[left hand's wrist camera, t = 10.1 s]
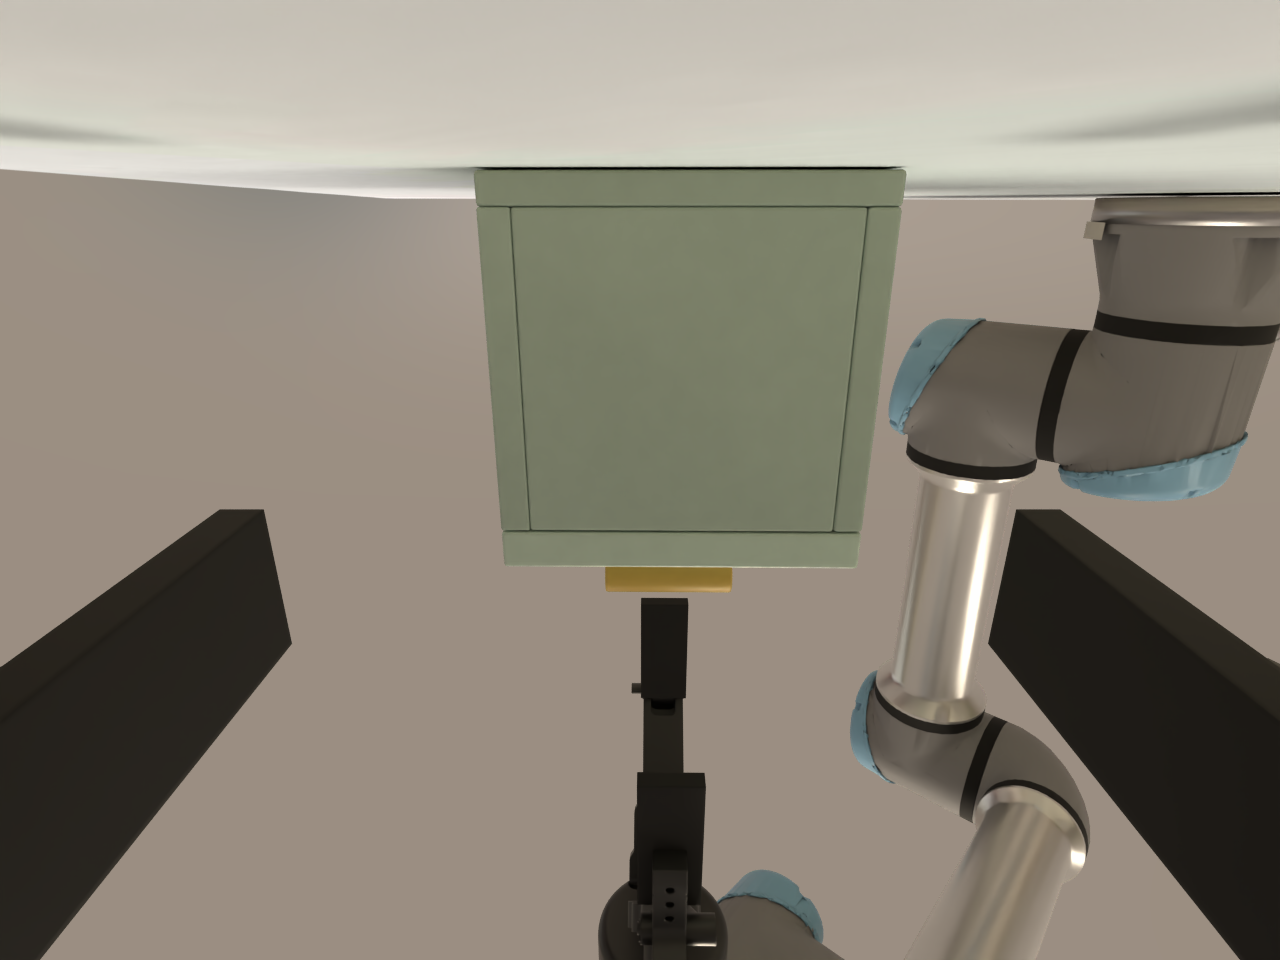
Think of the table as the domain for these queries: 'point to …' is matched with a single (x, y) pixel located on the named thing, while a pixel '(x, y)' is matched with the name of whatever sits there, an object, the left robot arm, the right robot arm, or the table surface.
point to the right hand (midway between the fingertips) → (667, 673)
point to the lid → (679, 554)
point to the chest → (686, 344)
